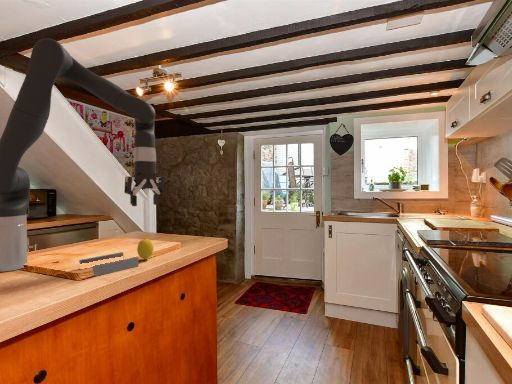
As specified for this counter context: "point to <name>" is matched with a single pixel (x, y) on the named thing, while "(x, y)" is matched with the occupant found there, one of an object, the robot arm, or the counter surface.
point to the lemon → (145, 248)
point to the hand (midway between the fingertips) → (145, 205)
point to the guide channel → (111, 264)
